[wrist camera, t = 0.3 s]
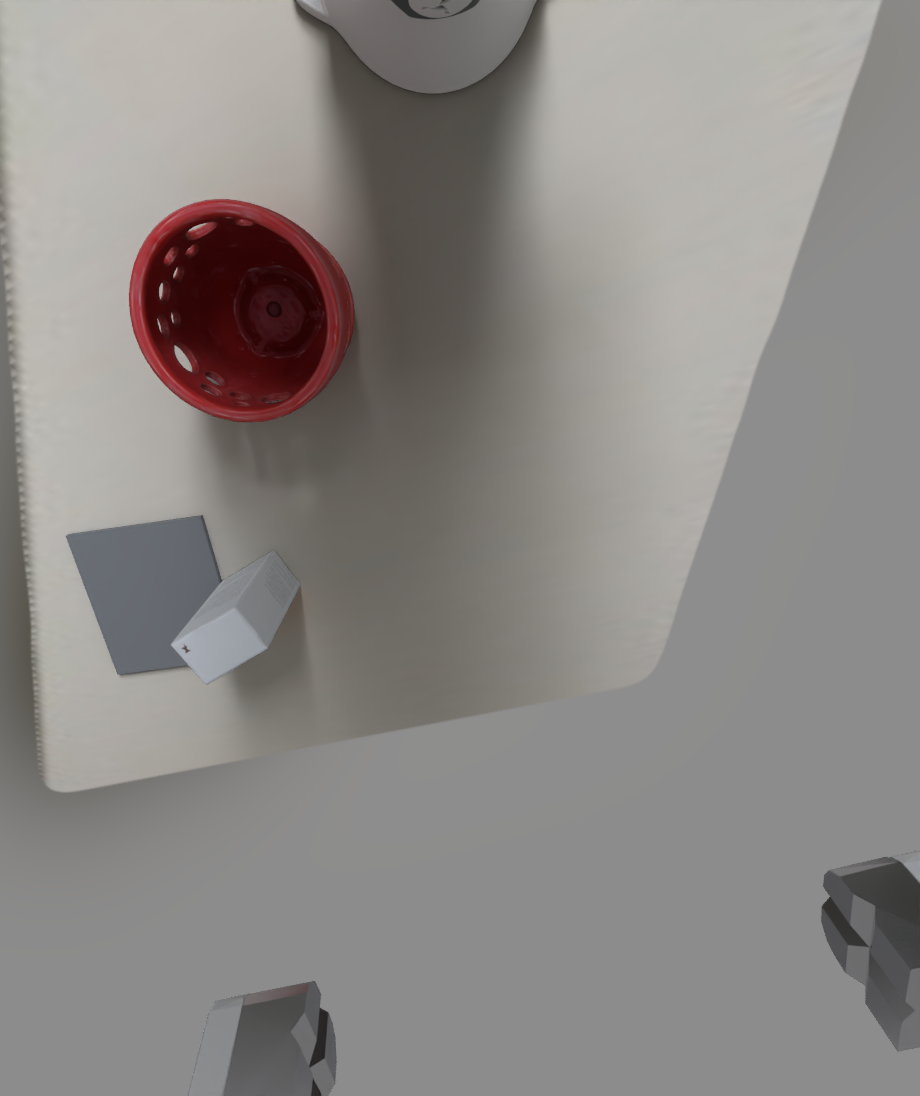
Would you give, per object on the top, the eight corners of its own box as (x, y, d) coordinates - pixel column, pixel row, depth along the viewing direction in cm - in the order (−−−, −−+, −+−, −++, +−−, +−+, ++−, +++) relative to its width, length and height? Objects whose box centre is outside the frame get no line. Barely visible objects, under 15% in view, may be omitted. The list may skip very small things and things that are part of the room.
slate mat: (69, 534, 56) (65, 536, 56) (202, 515, 56) (200, 517, 55) (120, 671, 61) (117, 674, 61) (243, 655, 61) (242, 658, 60)
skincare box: (250, 616, 59) (203, 687, 48) (221, 580, 58) (166, 644, 47) (304, 585, 58) (269, 650, 47) (275, 547, 57) (233, 605, 46)
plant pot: (176, 236, 48) (93, 213, 37) (348, 211, 48) (316, 180, 37) (221, 410, 53) (159, 437, 42) (378, 389, 52) (359, 409, 41)
